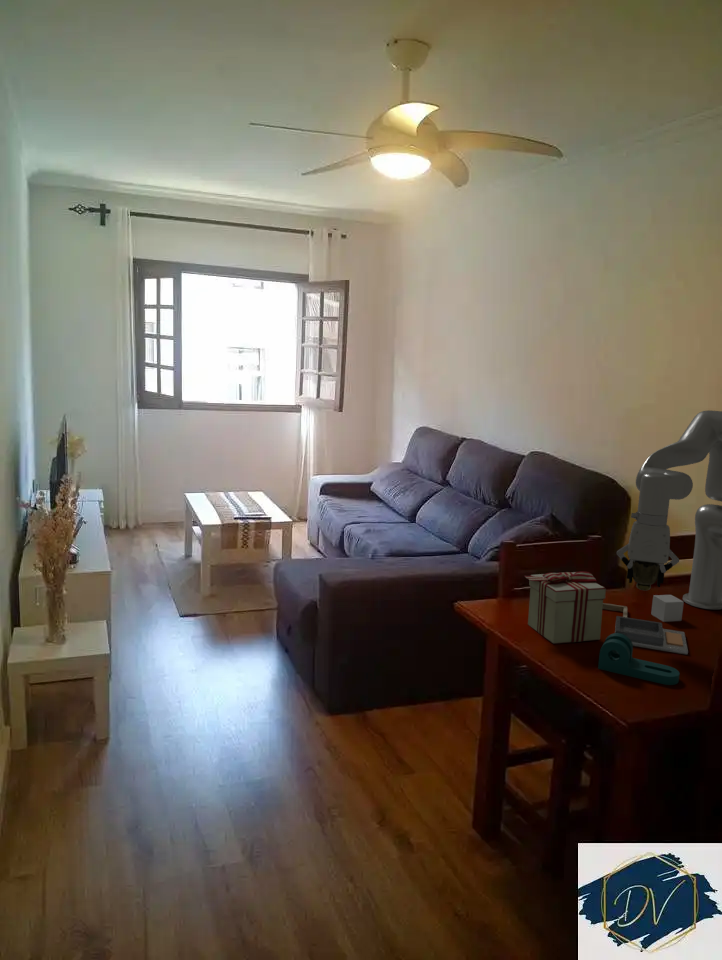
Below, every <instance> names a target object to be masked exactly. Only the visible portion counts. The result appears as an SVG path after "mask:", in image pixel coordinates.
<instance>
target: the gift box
mask: <svg viewBox="0 0 722 960" xmlns="http://www.w3.org/2000/svg"><path fill="white" fill-rule="evenodd" d="M524 577H525V578H526V579H527V580H529V581H528V582H529V584H528V585H529V586H530V588H529V591H530V592H529V603H528V618H527V625H528V626H529V627H530V628H532V629H533V630H534V631H535V632H537V633H538V634H540V635H541V636H542V637H543V638H545V639H546V640H547V641H549V642H550V643H552V644H555V645H556V644H568V643H578V642H579V643H580V642H588V641H589V642H591V641H600V640H601V631H602V621H603V620H602V618H603V609H602V607H603V603H604V600H606V592H607V591H606V590H607V588H606V587H605V586H603V585H600V584H599V583H597V582H598V581H597V579H596V577H595V576H594V575H593V573H591V572H590V571H583V570H581V571H573V572H570V571H565V572H547V573H541V574H540V573H539V574H538V573H537V574H530V575H524Z"/></svg>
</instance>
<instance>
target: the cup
mask: <svg viewBox="0 0 722 960" xmlns="http://www.w3.org/2000/svg"><path fill="white" fill-rule="evenodd" d="M632 569H633V578H632V580H633V581H634V582H635V583H636V586H635V587H636V589H639V590H640V591H649V590H650V589H651V588H652V586H651V585H654V584H655V583H657V578H658V574H659V571H660V566H659V564H657V563H649V562H641V561H635V563H634V561H633V566H632Z"/></svg>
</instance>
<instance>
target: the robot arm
mask: <svg viewBox="0 0 722 960" xmlns="http://www.w3.org/2000/svg"><path fill="white" fill-rule="evenodd" d="M708 455H709V457H708V465H707V471H706V472H707V473H706V479H705V486H704V492H705V495H706V497H708V499H710V500H713V501H717V502H722V410H721V411H720V410H710V409H709V410H702V411H700V412H698V413H697V414H696V415H695V416H694V417H693V418H692V420H691V422H690V423H689V425H688V426H687V427H686V428H685V430H684V432H683V433H682V435H681V436H680V437H679V439H678V440H677V441H675V442H673V443H670V444H668V445H666V446H664V447H662V448H659V449H657V450H656V451H654V452H652V453H651V454H650V455H649V456H648V457H647V459H646V460H645V461H644V463H643V464H642V465H641V466H640V468H639V470H638V472H637V474H636V478H635V487H636V489H637V490H638V491H639V497H638V505H637V511H636V512H631V515H630V516H631V517H630V518H631V519H634V520H636V521H633V522H632V526H631V529H630V530H631V531H630V534H629V537H628V538H629V539H628V543H627V544H626V545H624V546H622V547H620V548H619V549H618V550H617V551H616V555H617V556H618V557H619V558H620V560H621V561H622V563H623V564H624V565H625V566H626V568H627V573H626V579H627V580H628V584H629V583H630V584H632V583H633V569H632V566H633V561H634V563H635V561H641V562H649V563H657V564H659V566H660V571H659V574H658V578H657V580H656V587H658V588H661V584H664V579H665V574H666V572H668V571H669V570H670V569H672V568H673V567H675V566H676V565H677V564H678V563H680V559H679V557H678V556H677V555H676V554H675V552H673V551H672V549H671V548H670V546H671V529H670V526H669V525H668V517H669V516H668V515H669V508H670V507H669V506H670V501H671V500H674V501H675V500H676V501H677V500H678V501H679V500H683V499H685V498H687V497H689V495H690V494H691V492H692V490H693V487H694V482H693V479H692V477H691V476H690V475H689V474H687V473H686V472H682V471H677V470H671V468H676V467H677V468H678V467H684V466H689V465H694V464H699V463H700V462H703V461H704V460H705V459H706V458H707V456H708ZM694 526H695V537H694V538H695V539H694V549H693V558H692V564H691V565H692V567H691V573H690V574H691V575H690V582H689V588H688V593H685V594H683V595H682V601H683V602H685V603H686V604H688V605H690V606H692V607H694V608H695V607H696V608H698V609H699V608H700V609H703V610H704V609H705V610H711V611H712V610H714V611H715V610H722V505H720V504H714V503H713V504H712V503H711V504H710V503H709V504H708V503H707V504H702V505H701V506H700V507H699V506H698V508H697V510H696V512H695V515H694ZM626 552H627V557H626V555H625V554H624V553H626ZM669 557H670V561H669Z"/></svg>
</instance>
